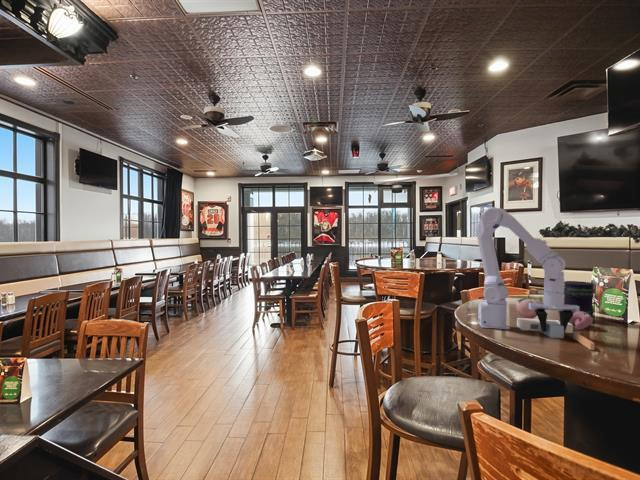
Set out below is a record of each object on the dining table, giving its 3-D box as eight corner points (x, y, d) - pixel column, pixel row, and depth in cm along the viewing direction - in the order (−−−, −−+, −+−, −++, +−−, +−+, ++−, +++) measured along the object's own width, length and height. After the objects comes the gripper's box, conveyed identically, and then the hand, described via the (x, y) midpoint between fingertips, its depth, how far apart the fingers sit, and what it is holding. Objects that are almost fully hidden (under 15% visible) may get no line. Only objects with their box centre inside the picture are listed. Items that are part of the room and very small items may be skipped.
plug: (548, 337, 118) (549, 325, 118) (539, 331, 125) (540, 320, 125) (565, 338, 118) (565, 326, 117) (555, 332, 124) (555, 321, 124)
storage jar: (585, 323, 137) (586, 285, 137) (558, 318, 146) (558, 281, 145) (598, 320, 142) (598, 283, 142) (570, 315, 151) (571, 280, 150)
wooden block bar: (596, 350, 105) (596, 342, 105) (588, 349, 105) (589, 341, 105) (578, 338, 116) (578, 331, 116) (572, 338, 117) (572, 331, 117)
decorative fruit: (530, 316, 148) (531, 292, 148) (545, 321, 140) (546, 296, 140) (510, 317, 147) (510, 293, 146) (524, 322, 138) (524, 296, 138)
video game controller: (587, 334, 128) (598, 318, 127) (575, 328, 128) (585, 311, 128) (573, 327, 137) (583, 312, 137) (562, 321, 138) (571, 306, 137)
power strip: (521, 330, 127) (522, 320, 127) (516, 325, 133) (517, 316, 133) (573, 333, 123) (573, 323, 123) (565, 328, 129) (565, 319, 129)
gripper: (533, 292, 118) (532, 333, 118) (584, 294, 114) (583, 336, 114) (526, 289, 125) (526, 327, 125) (574, 291, 121) (573, 331, 121)
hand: (553, 331), depth 120 cm, fingers open, 5 cm apart
